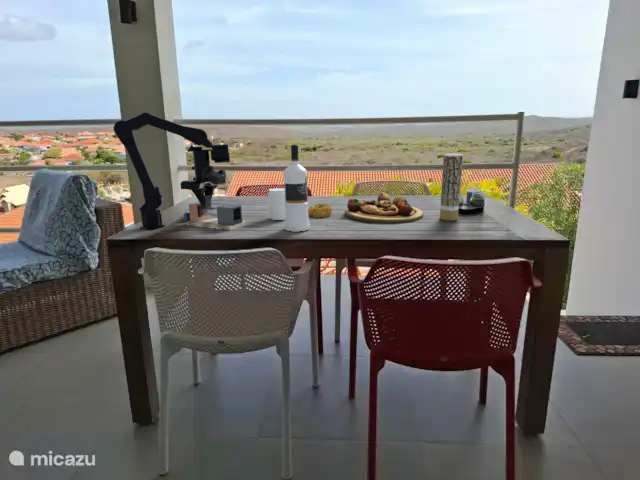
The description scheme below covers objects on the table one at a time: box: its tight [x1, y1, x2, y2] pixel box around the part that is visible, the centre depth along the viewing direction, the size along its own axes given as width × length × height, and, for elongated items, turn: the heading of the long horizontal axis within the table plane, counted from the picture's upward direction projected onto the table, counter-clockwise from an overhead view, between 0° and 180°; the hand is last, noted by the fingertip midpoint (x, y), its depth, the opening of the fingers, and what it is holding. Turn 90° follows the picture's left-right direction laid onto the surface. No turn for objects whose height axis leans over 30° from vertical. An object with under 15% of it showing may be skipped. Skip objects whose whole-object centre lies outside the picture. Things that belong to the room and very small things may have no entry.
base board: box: [186, 216, 248, 231], centre depth 157 cm, size 21×10×1 cm, turn 64°
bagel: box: [308, 202, 333, 219], centre depth 170 cm, size 10×11×5 cm
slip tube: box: [197, 194, 218, 218], centre depth 156 cm, size 15×4×8 cm, turn 64°
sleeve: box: [216, 203, 243, 226], centre depth 153 cm, size 7×6×7 cm
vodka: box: [283, 144, 311, 233], centre depth 144 cm, size 9×9×30 cm
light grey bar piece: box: [182, 208, 190, 222], centre depth 175 cm, size 5×7×25 cm
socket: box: [188, 200, 209, 222], centre depth 159 cm, size 4×6×7 cm, turn 154°
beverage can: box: [267, 187, 286, 221], centre depth 163 cm, size 8×8×12 cm
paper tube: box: [439, 153, 464, 222], centre depth 156 cm, size 7×7×25 cm
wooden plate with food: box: [344, 191, 424, 225], centre depth 169 cm, size 32×32×8 cm
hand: (205, 204), depth 157 cm, fingers closed on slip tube, 3 cm apart
